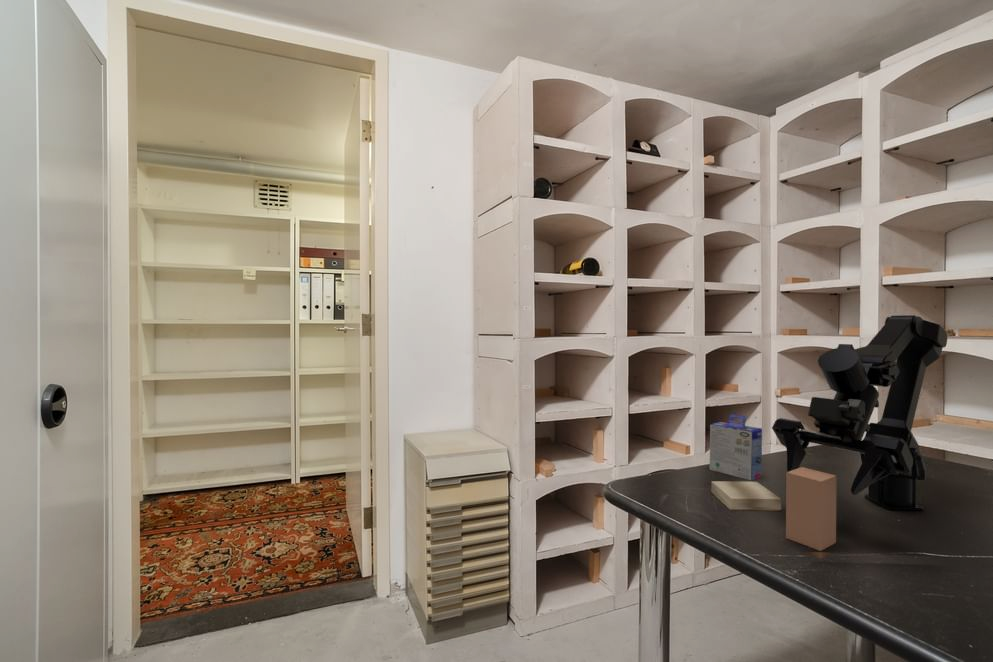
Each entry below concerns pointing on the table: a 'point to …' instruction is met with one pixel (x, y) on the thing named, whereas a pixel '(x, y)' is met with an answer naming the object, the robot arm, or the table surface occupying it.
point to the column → (811, 509)
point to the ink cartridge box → (736, 448)
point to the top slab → (746, 495)
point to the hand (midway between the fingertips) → (819, 484)
